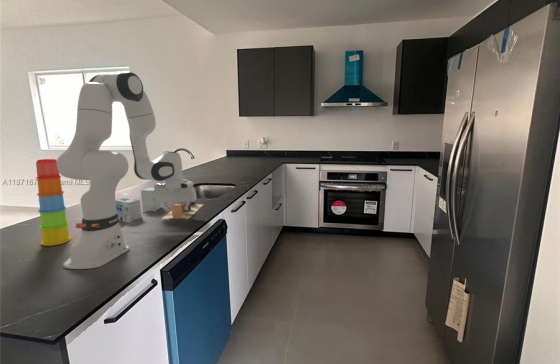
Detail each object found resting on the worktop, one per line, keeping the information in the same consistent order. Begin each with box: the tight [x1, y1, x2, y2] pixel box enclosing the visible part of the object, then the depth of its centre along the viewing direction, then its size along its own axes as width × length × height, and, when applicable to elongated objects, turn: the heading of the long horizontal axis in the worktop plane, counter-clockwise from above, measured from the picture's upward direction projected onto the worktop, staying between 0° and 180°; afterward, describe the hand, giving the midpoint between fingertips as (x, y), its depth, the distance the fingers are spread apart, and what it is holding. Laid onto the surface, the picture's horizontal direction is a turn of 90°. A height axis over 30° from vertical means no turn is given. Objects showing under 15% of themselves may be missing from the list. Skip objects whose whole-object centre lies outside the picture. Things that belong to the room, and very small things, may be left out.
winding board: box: [161, 200, 205, 220], centre depth 161 cm, size 26×14×10 cm, turn 178°
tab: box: [171, 203, 182, 218], centre depth 152 cm, size 5×3×6 cm, turn 178°
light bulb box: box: [115, 196, 143, 224], centre depth 151 cm, size 11×7×11 cm, turn 62°
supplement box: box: [140, 187, 163, 214], centre depth 165 cm, size 7×7×13 cm
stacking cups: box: [35, 158, 72, 247], centre depth 122 cm, size 10×10×35 cm
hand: (176, 210), depth 152 cm, fingers open, 8 cm apart
